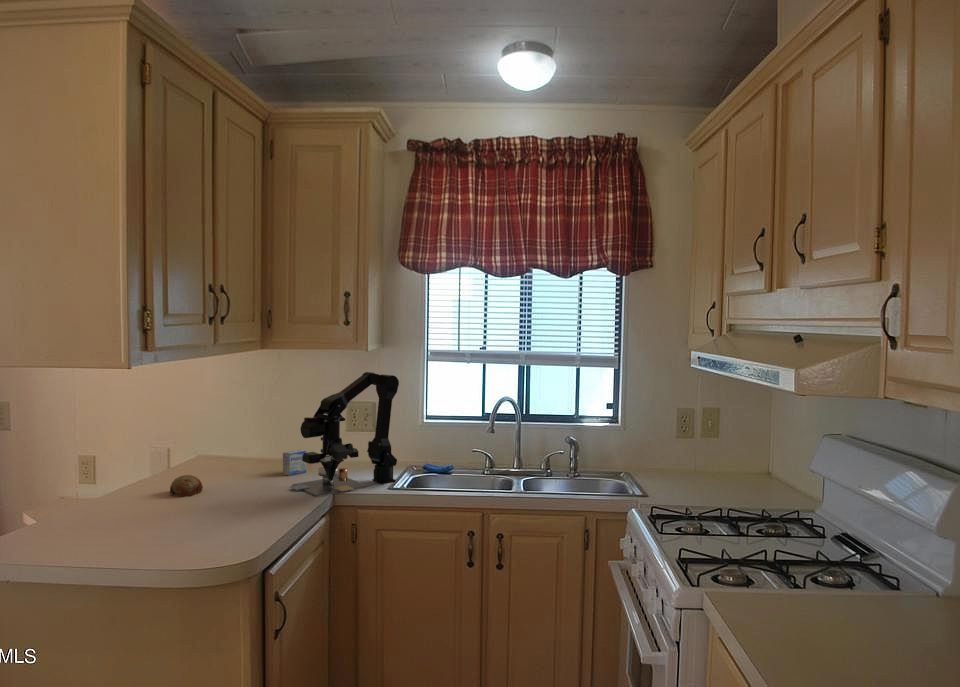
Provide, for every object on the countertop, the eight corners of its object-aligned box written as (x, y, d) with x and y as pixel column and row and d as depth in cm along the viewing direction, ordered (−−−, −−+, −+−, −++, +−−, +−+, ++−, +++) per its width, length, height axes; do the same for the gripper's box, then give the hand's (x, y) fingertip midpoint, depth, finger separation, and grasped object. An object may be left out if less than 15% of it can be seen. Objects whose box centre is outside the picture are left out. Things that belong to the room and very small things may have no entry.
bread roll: (168, 503, 209) (159, 485, 206) (192, 485, 217) (183, 466, 214) (187, 508, 205) (178, 488, 201) (211, 488, 213) (202, 469, 210)
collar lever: (314, 473, 223) (315, 462, 223) (332, 471, 228) (332, 460, 228) (335, 482, 211) (335, 471, 211) (353, 479, 216) (354, 468, 216)
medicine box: (289, 476, 234) (289, 453, 234) (282, 474, 237) (282, 452, 237) (306, 472, 241) (306, 450, 240) (299, 470, 243) (299, 449, 243)
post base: (341, 477, 234) (341, 468, 234) (369, 487, 219) (369, 478, 219) (285, 487, 219) (285, 477, 218) (311, 499, 204) (311, 488, 204)
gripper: (317, 441, 199) (316, 489, 199) (367, 435, 211) (366, 480, 212) (301, 436, 207) (301, 482, 208) (350, 430, 220) (349, 474, 220)
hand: (330, 479), depth 212 cm, fingers closed
